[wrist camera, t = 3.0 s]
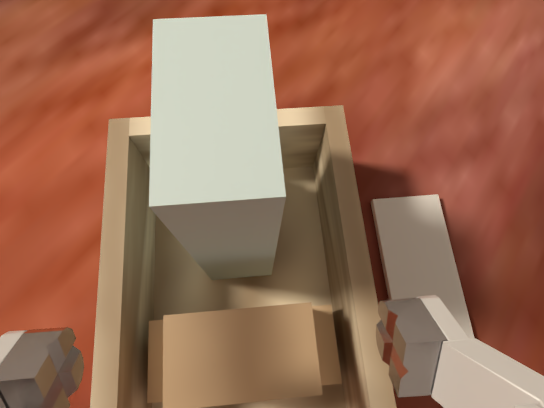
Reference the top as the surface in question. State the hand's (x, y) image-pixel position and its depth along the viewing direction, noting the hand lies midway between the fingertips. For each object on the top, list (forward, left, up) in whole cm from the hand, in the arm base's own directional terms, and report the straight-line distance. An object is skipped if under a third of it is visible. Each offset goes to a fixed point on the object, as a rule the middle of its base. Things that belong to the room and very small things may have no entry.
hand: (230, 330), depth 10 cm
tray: (0, +4, -16) cm, 16 cm away
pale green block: (0, +7, -15) cm, 16 cm away
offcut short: (0, -1, -11) cm, 11 cm away
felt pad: (+12, +3, -16) cm, 20 cm away
